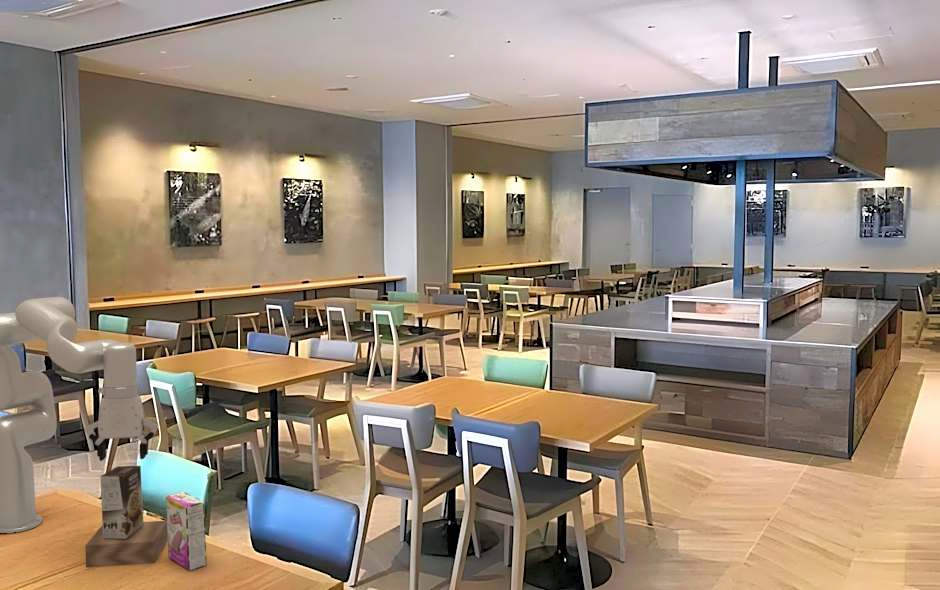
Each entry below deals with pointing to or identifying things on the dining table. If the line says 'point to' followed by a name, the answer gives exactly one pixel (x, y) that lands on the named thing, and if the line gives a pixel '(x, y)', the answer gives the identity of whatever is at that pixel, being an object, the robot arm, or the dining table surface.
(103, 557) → the walnut box
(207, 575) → the dining table surface
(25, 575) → the dining table surface
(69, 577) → the dining table surface
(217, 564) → the dining table surface
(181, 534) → the candy bar box
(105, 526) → the coffee box
